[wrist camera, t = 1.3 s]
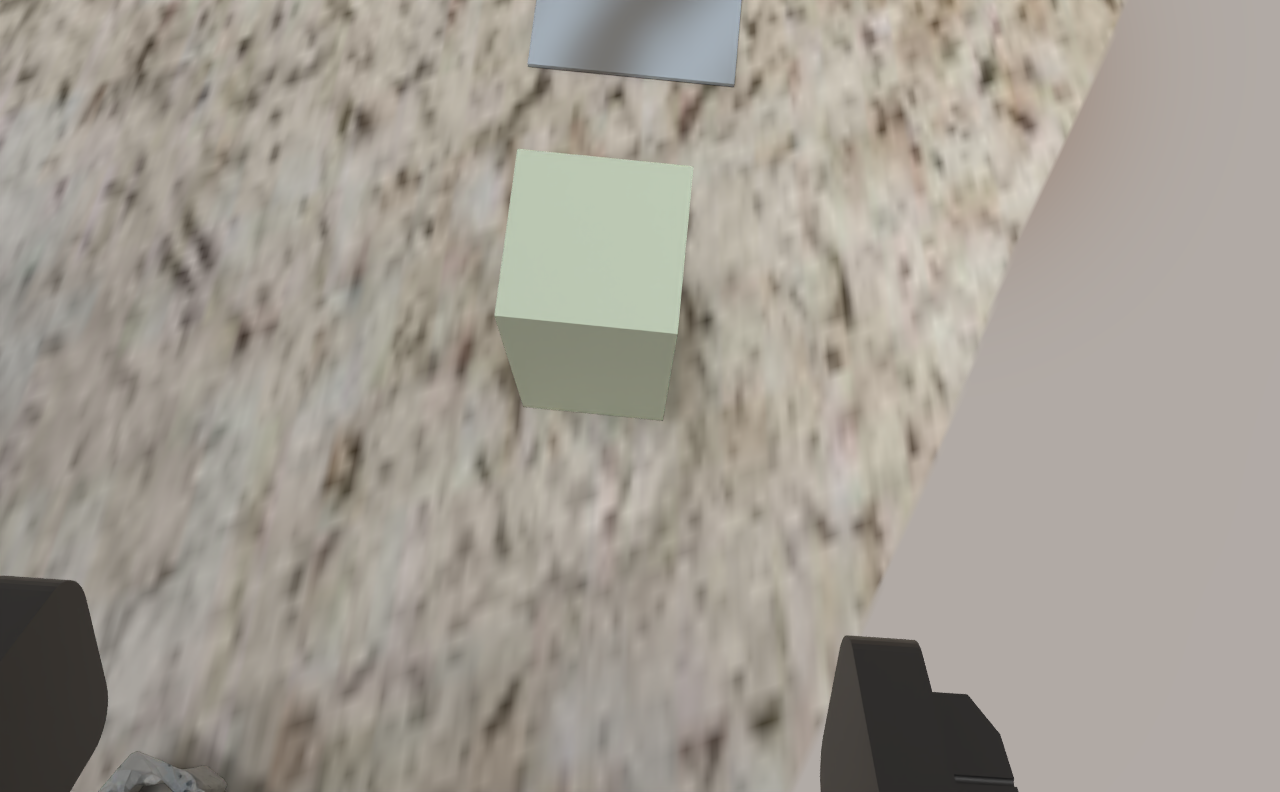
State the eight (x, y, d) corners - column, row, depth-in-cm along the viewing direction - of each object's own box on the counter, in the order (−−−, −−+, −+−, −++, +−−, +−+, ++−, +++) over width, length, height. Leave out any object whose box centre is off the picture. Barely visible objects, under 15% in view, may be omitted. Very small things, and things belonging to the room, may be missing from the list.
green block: (523, 406, 40) (494, 315, 31) (540, 276, 42) (517, 148, 32) (662, 420, 40) (677, 334, 31) (675, 289, 42) (693, 166, 32)
